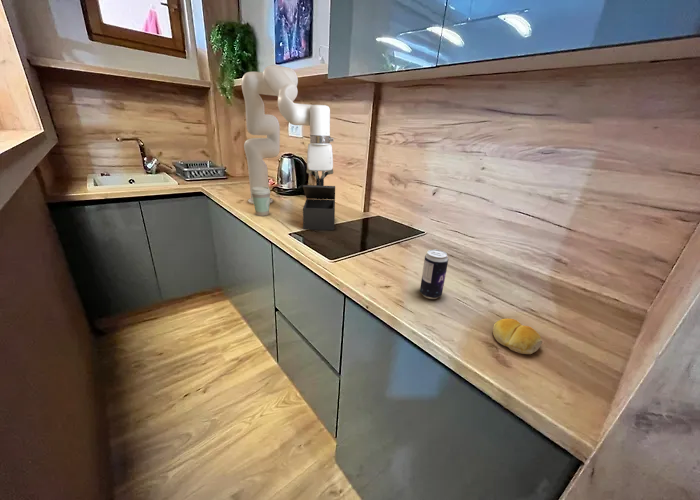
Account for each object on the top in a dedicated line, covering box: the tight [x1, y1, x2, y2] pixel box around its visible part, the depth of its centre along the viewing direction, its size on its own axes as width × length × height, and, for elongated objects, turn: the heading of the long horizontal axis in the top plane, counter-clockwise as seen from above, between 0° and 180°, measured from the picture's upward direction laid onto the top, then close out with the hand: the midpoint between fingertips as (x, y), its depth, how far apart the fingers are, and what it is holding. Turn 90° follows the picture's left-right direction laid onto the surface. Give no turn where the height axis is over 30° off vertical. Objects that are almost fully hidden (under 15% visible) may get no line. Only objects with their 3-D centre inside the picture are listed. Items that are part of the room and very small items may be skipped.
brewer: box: [302, 199, 336, 231], centre depth 129 cm, size 16×13×9 cm
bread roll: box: [492, 317, 543, 355], centre depth 63 cm, size 8×9×4 cm
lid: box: [302, 184, 336, 201], centre depth 126 cm, size 16×13×1 cm
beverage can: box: [419, 249, 449, 300], centre depth 77 cm, size 6×6×12 cm
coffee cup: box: [251, 186, 271, 217], centre depth 138 cm, size 8×8×12 cm
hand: (320, 188), depth 123 cm, fingers closed
